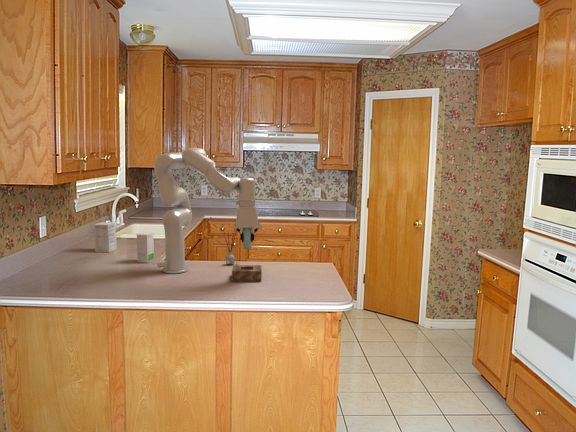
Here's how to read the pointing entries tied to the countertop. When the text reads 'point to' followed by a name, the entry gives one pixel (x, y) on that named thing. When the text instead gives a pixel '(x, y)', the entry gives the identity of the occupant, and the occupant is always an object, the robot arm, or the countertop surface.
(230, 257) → the reed diffuser
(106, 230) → the supplement box
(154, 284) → the countertop surface
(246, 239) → the peg
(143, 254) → the skincare box
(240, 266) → the socket block
